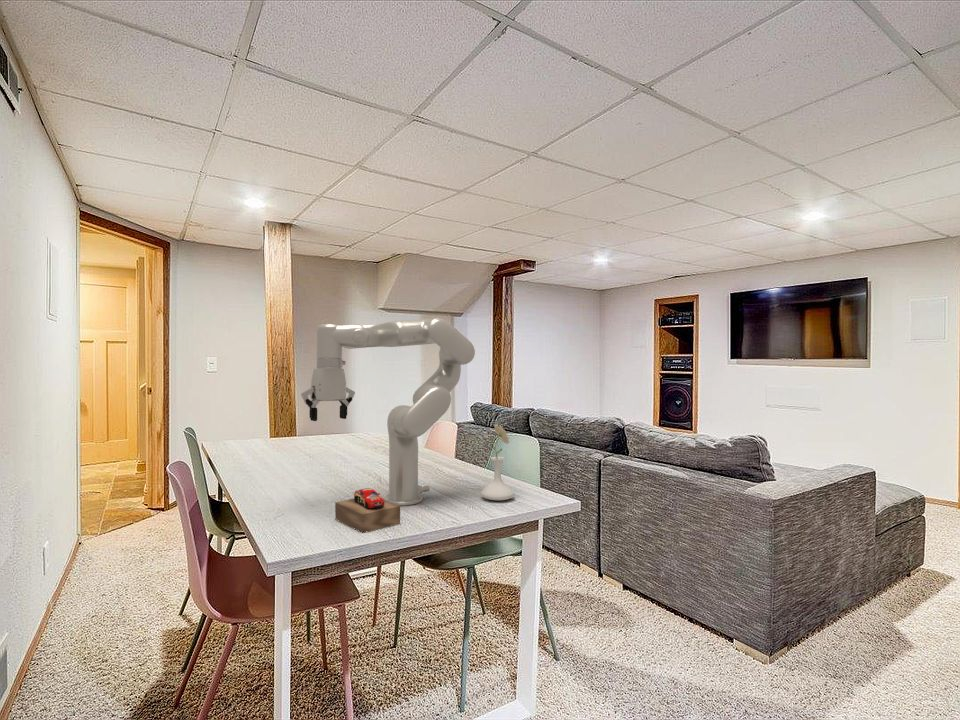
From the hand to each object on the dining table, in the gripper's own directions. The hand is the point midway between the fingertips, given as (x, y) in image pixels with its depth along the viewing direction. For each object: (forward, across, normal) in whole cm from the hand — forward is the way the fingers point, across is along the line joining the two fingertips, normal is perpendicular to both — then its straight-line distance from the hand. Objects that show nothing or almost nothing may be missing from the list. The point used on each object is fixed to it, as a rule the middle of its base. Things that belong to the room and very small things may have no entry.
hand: (328, 419), depth 157 cm
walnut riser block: (+28, -4, +17) cm, 33 cm away
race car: (+24, -4, +17) cm, 29 cm away
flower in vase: (+28, -50, +24) cm, 62 cm away
